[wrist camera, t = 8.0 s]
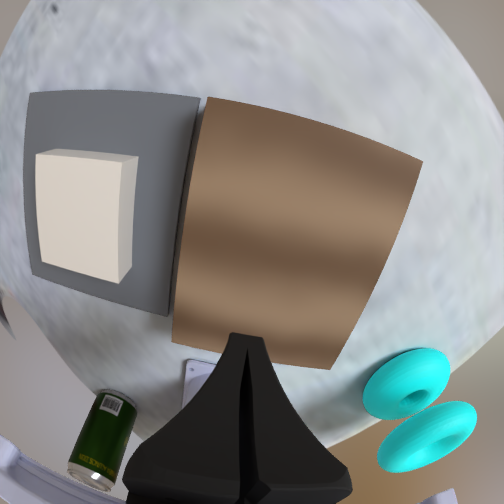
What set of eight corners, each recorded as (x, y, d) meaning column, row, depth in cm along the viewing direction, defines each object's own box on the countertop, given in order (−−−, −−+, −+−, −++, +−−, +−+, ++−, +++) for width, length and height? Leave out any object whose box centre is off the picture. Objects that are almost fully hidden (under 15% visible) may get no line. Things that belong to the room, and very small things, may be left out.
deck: (324, 343, 23) (330, 369, 20) (180, 316, 22) (171, 341, 19) (400, 154, 16) (423, 161, 13) (216, 100, 15) (207, 96, 13)
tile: (131, 266, 20) (118, 283, 18) (58, 247, 19) (41, 261, 17) (138, 156, 16) (121, 162, 14) (56, 148, 16) (35, 154, 14)
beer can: (94, 383, 27) (56, 463, 17) (134, 394, 28) (103, 483, 17) (105, 407, 30) (76, 480, 19) (142, 417, 30) (118, 496, 19)
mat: (168, 313, 22) (167, 316, 22) (34, 272, 21) (32, 274, 21) (200, 98, 15) (199, 97, 15) (33, 92, 14) (29, 92, 14)
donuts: (473, 408, 13) (486, 431, 16) (426, 325, 22) (452, 366, 25) (360, 471, 16) (402, 480, 19) (342, 384, 25) (383, 412, 28)
